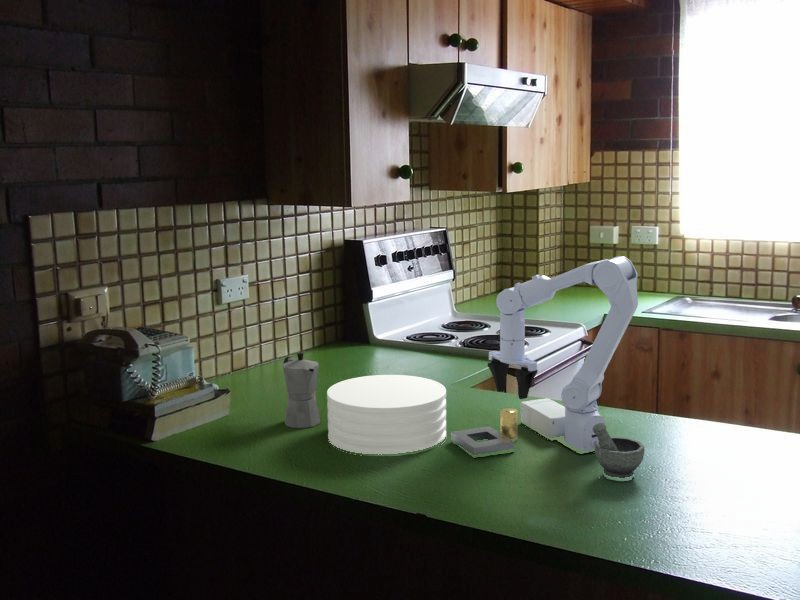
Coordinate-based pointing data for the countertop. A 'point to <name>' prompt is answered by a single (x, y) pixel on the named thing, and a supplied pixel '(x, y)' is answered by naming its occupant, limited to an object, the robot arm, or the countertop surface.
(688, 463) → the countertop surface
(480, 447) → the jig
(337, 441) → the plate stack
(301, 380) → the coffeepot
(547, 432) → the skincare box
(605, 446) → the mortar and pestle
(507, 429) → the cylinder
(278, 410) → the countertop surface
